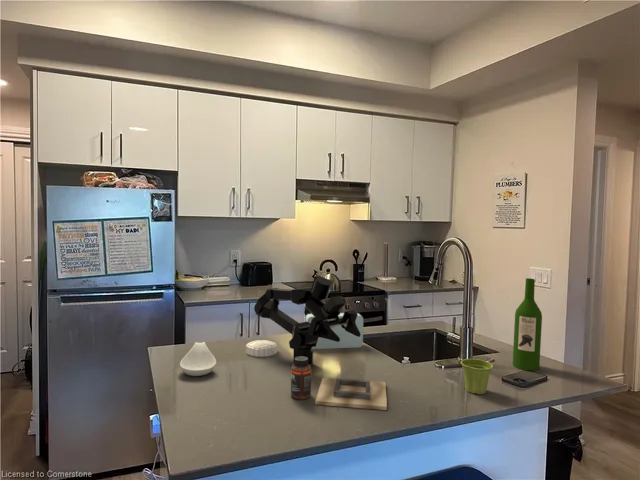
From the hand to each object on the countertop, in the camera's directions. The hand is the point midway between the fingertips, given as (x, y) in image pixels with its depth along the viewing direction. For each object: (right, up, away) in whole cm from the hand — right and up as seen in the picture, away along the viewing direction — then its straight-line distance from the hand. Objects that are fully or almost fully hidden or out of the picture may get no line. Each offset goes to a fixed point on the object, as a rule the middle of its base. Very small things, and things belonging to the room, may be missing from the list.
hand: (349, 338), depth 136 cm
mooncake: (-32, -13, +31) cm, 47 cm away
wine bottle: (+66, -16, +22) cm, 72 cm away
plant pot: (+39, -16, -2) cm, 42 cm away
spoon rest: (-52, -13, +13) cm, 55 cm away
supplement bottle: (-15, -15, -9) cm, 23 cm away
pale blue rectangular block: (-4, -13, +41) cm, 43 cm away
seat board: (0, -15, -7) cm, 17 cm away
